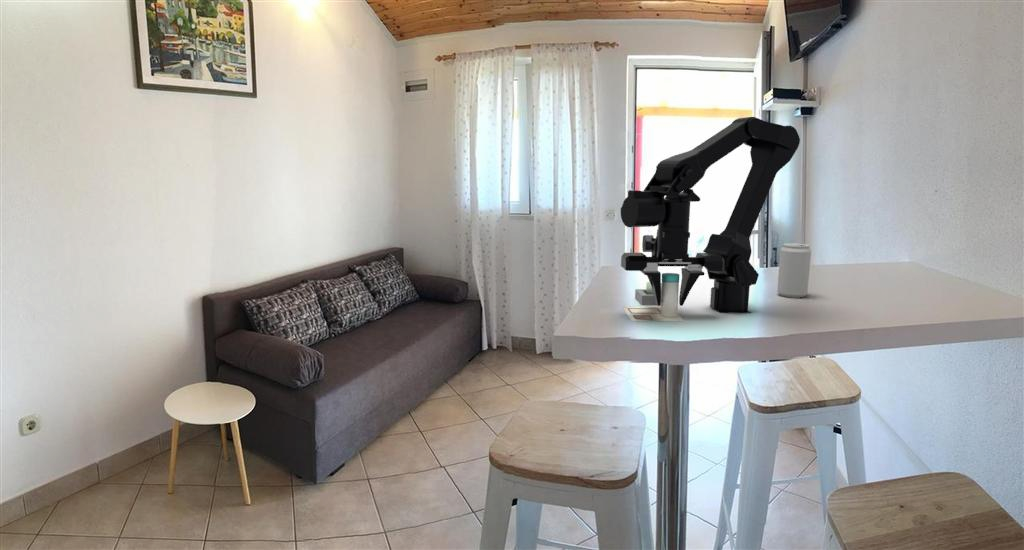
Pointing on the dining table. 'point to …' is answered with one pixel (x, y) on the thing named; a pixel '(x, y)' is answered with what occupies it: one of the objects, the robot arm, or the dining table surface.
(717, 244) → the robot arm
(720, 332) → the dining table surface
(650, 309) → the drawing board
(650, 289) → the button
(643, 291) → the button housing
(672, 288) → the marker
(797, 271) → the beverage can
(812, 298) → the dining table surface
